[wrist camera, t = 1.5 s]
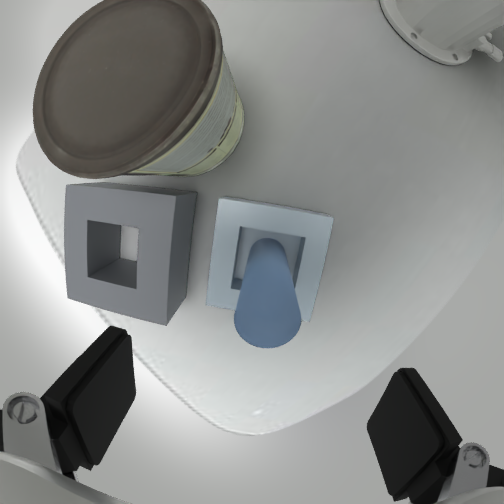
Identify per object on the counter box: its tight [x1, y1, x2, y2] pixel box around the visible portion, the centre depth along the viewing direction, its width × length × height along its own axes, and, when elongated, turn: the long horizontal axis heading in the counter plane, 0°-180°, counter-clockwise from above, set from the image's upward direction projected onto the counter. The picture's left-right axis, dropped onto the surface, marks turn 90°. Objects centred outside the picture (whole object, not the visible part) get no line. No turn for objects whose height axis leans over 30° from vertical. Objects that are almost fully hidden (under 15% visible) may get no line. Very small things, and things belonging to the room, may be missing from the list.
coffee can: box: [33, 0, 244, 179], centre depth 16 cm, size 10×10×14 cm
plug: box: [234, 238, 301, 348], centre depth 19 cm, size 3×3×12 cm
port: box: [64, 182, 197, 326], centre depth 23 cm, size 10×10×6 cm
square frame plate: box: [206, 196, 334, 322], centre depth 24 cm, size 9×9×3 cm
